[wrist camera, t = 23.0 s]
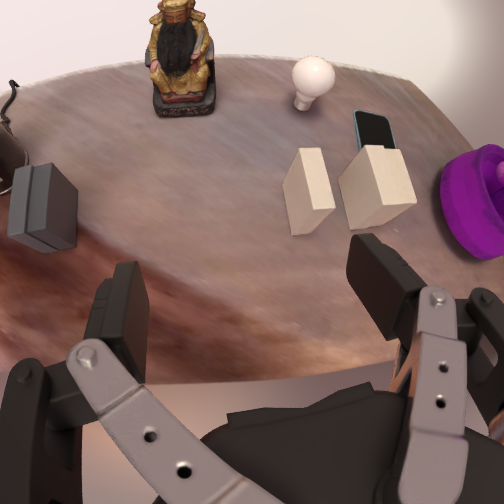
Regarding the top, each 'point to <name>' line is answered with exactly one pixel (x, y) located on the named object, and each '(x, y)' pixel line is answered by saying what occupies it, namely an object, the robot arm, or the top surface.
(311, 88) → the lightbulb
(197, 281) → the top surface
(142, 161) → the top surface
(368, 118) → the smartphone
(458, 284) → the top surface
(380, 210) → the white books
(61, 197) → the grey books
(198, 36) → the statue
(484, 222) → the decorative plant
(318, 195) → the white book
